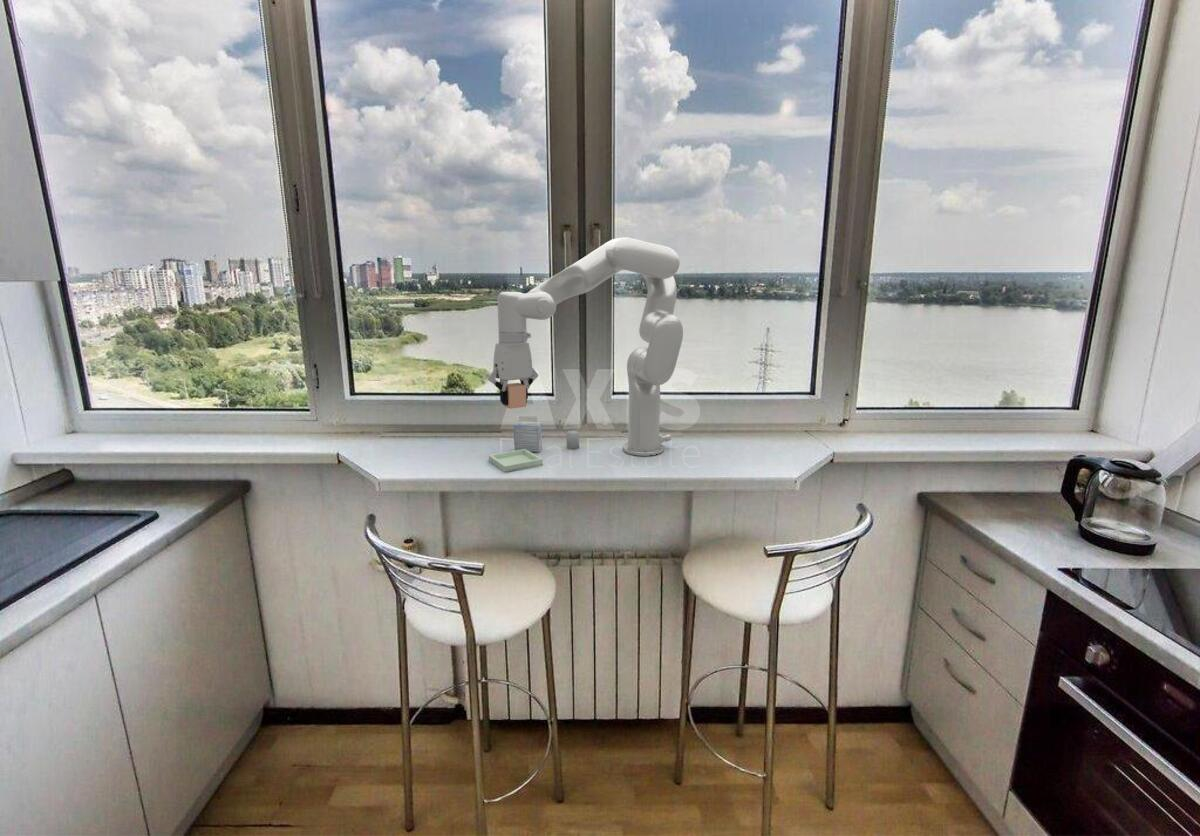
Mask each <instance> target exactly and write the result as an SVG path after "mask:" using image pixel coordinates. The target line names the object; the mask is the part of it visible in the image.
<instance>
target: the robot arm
mask: <svg viewBox="0 0 1200 836" xmlns="http://www.w3.org/2000/svg"><path fill="white" fill-rule="evenodd" d="M679 267H680V257H679V255H678V253H677V252H676V250H674V249H672V248H671V247H669V246H665V245H662V244H658V243H657V244H656V243H652V242H647V241H644V240H641V239H635V238H631V237H626V236H625V237H617V238H612V239H610V240H609V241H607V242H605V243H604V244H602V245H601V246H599V247H597V248H596V249H594V250H593V251H591V252H590V253H588V254H587V255H585V256H584V257H582V258H581V259H579V260H577V261H576V262H574V263H573V264H571V265H569V266H567V267H565V268H564V269H563V270H562V271H560V272H557V273H556V274H554V275H553V276H551V277H550V278H547V279H546V280H544V281H543V282H541V283H539V284H538V285H536V286H535V287H533V288H532V289H530V290H529V291H528V292H526V293H525V292H524V293H523V292H520V291H501V292H500V293H499V294H498V296H497V319H498V320H497V321H498V322H497V323H498V325H497V327H498V330H497V331H498V342H496V343H495V346H494V353H493V367H492V371H491V373H490V375H489V376H488V378H487V381H488V382H489V383H491V384H493V385H494V386H495V387H496V388H497V390H499V400H500V402H501V404H504V405H508V391H506V388H507V384H509V381H515V380H519V383H520V384H523V385H526V404H527V403H528V399H529V397H528V395H529V391H528V390H529V389H530V386H531V385H532V384H533V382H534V381H536V379H537V378H538V377H539V374H538V373H537V372H536V370H535V369H534V367H533V361H532V360H533V358H532V352H531V347H530V344H529V342H528V339H531V338H532V335H531V333H530V332H528V331H527V319H531V320H540V321H546V320H548V319H551V318H552V317H553V316H554V314H555V313H556V311H557V305H559V304H561V303H562V302H563V301H565V300H567V299H570V298H572V297H576V296H580V295H583V294H586V293H587V292H590V291H592V290H594V289H595V288H596V287H598V286H600V285H601V284H602V283H604V282H605V281H607V280H609V279H610V278H611V277H614V276H615V275H616V274H618V273H619V272H620V271H629V272H632V273H636V274H640V276H642V277H643V278H644V280H645V283H646V288H647V294H646V301H645V305H644V309H643V312H642V317H641V320H640V325H639V329H638V331H639V336H640V338H641V339H642V340H643V341H644V342H646V343H648V346H647V347H639V348H636V349H634V350H633V351H632V352H631V353H630V354H629V356H628V358H627V362H626V373H627V381H628V412H627V413H628V417H627V418H628V419H627V420H628V425H627V442H625V443H624V444H623V445H622V450H623V451H624V453H626V454H628V455H632V456H639V457H650V455H652V456H656V454H657V455H660V454H662V453H663V452H664V449H665V447H664V445H663V443H664V442H668V441H669V442H670V441H671V440H672V435H670V434H665V435H663V434H662V433H661V434H660V419H661V418H660V417H661V416H660V414H661V386H662V385H664V384H666V383H668V382H669V381H670V379H671V378H672V376H673V374H674V372H675V369H676V366H677V362H678V358H679V356H680V355H679V353H680V351H681V346H682V342H683V338H684V328H683V324H682V322H681V320H680V319H679V318H678V317H677V316H675V315H674V310H675V306H676V301H677V295H678V294H677V292H678V291H677V290H678V287H677V283H676V279H675V275H676V273H678V270H679ZM497 379H499V381H498V380H497Z"/></svg>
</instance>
